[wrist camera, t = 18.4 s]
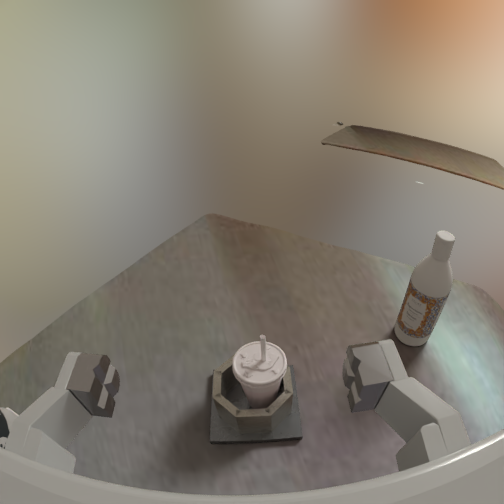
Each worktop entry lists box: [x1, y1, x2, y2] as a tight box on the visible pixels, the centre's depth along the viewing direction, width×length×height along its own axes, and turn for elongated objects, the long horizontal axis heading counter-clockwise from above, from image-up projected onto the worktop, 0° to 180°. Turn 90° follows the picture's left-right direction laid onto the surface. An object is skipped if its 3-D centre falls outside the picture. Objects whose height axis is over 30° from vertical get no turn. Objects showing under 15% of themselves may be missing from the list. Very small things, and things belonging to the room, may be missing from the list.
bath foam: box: [394, 231, 455, 346], centre depth 43 cm, size 7×7×20 cm
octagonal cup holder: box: [210, 354, 303, 444], centre depth 38 cm, size 12×12×6 cm
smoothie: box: [232, 335, 287, 409], centre depth 36 cm, size 6×6×14 cm
